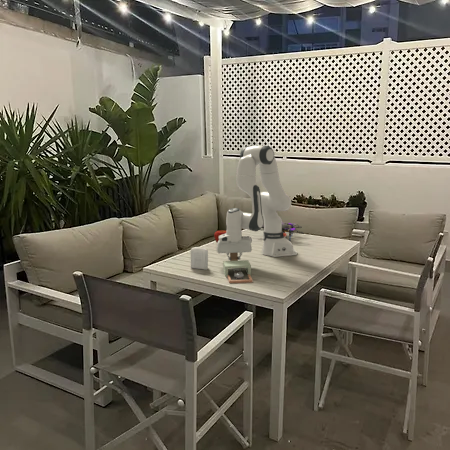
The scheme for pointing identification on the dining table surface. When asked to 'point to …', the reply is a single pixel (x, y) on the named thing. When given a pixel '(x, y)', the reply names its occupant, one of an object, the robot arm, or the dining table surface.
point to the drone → (286, 228)
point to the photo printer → (199, 258)
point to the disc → (238, 275)
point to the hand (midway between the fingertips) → (234, 259)
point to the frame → (240, 280)
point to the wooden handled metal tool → (235, 258)
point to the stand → (236, 266)
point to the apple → (218, 234)
